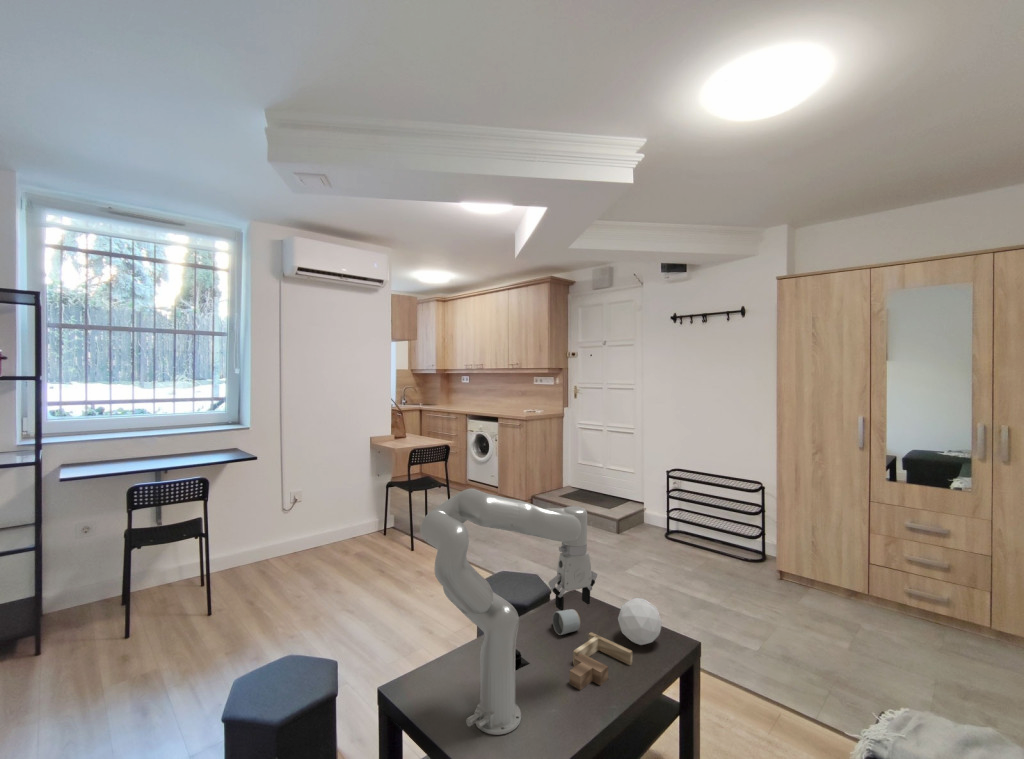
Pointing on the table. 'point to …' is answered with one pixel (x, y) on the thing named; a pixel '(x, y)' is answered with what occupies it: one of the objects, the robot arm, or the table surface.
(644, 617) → the white faceted ball
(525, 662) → the build plate
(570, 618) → the ceramic mug
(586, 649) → the light wooden angled piece
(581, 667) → the tee block
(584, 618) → the table surface
